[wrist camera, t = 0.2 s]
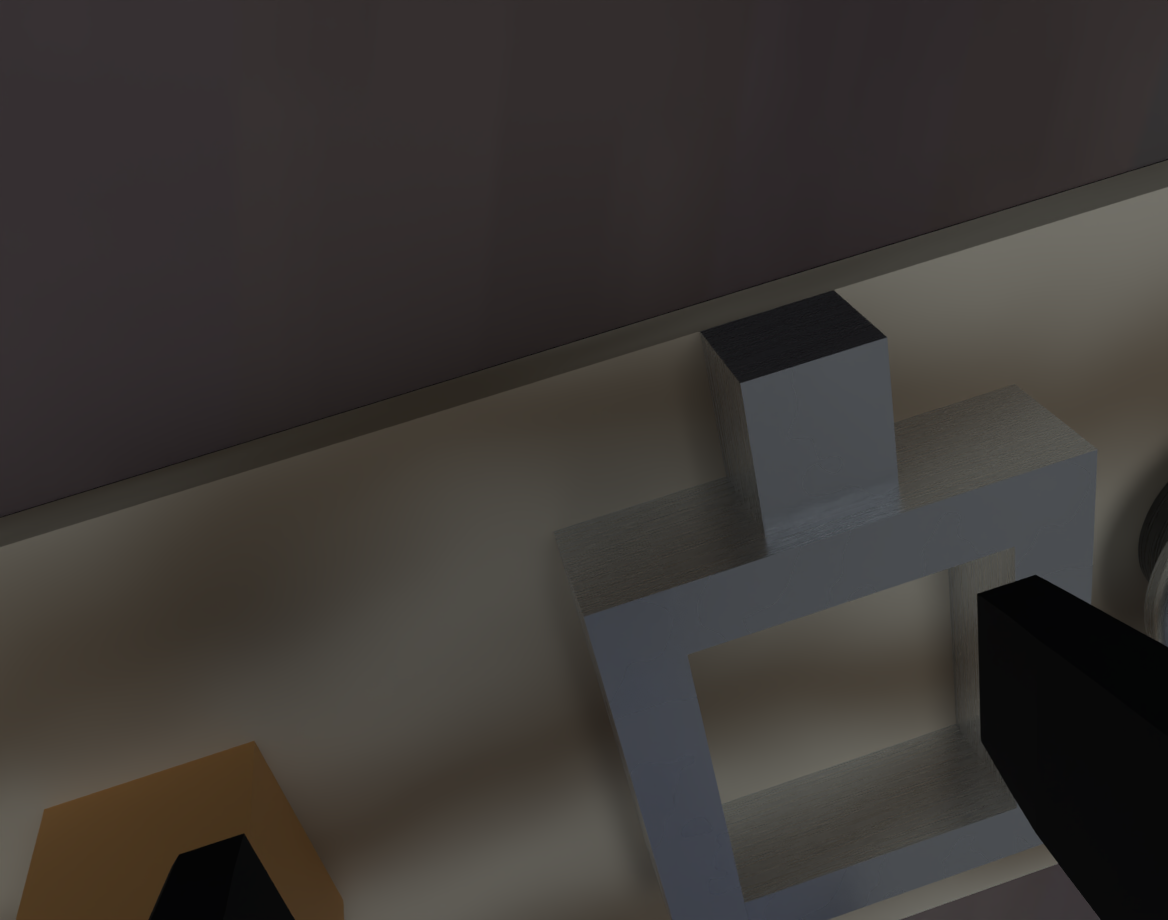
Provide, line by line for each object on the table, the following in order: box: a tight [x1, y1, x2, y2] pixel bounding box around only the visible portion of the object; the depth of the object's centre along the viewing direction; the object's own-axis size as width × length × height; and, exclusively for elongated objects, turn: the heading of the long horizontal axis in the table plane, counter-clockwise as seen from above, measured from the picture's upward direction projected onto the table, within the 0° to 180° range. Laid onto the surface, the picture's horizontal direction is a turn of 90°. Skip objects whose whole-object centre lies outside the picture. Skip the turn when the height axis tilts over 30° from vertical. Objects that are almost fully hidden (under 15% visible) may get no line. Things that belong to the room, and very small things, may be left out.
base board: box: [0, 160, 1168, 920], centre depth 23 cm, size 18×32×1 cm, turn 103°
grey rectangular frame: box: [553, 290, 1168, 920], centre depth 20 cm, size 13×17×4 cm
